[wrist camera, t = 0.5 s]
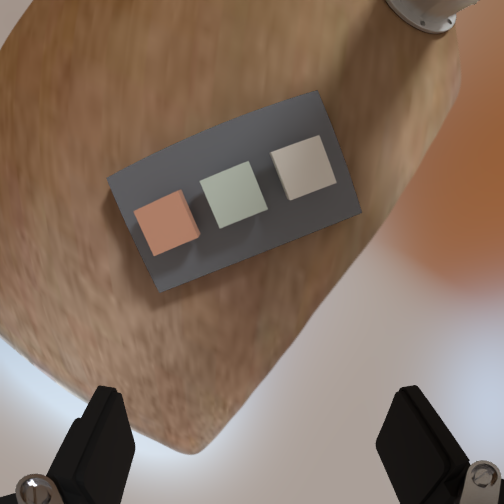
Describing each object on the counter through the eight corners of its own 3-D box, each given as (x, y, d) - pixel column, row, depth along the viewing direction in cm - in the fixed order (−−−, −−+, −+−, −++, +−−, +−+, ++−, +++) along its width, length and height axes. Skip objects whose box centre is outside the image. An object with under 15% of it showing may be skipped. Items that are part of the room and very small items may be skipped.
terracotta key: (181, 189, 30) (177, 190, 28) (200, 233, 31) (198, 237, 30) (138, 208, 30) (133, 211, 29) (158, 251, 32) (154, 256, 30)
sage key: (247, 161, 30) (248, 160, 28) (266, 206, 31) (267, 209, 29) (201, 180, 30) (199, 181, 28) (220, 224, 31) (219, 228, 30)
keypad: (311, 95, 32) (317, 90, 29) (352, 208, 36) (361, 212, 33) (116, 176, 34) (106, 177, 31) (164, 283, 37) (159, 292, 35)
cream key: (314, 136, 29) (319, 135, 28) (331, 181, 31) (336, 182, 29) (269, 152, 30) (271, 152, 28) (287, 198, 31) (290, 200, 29)
